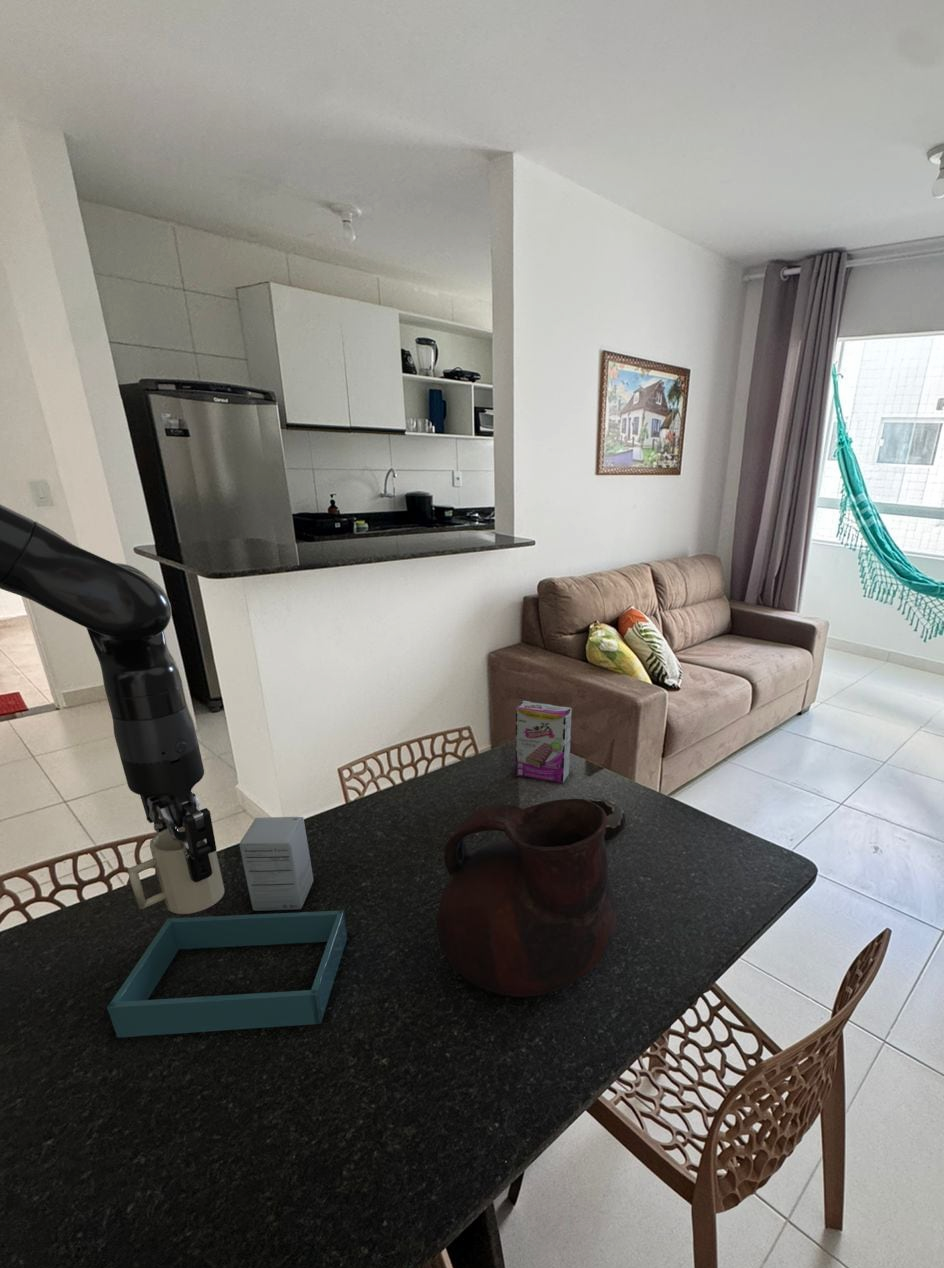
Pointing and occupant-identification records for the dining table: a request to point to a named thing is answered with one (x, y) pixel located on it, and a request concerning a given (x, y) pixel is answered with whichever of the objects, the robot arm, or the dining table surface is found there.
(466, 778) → the dining table surface
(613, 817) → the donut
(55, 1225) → the dining table surface
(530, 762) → the candy bar box
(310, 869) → the white packaging box
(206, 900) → the mug
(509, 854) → the jug
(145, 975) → the rectangular frame
